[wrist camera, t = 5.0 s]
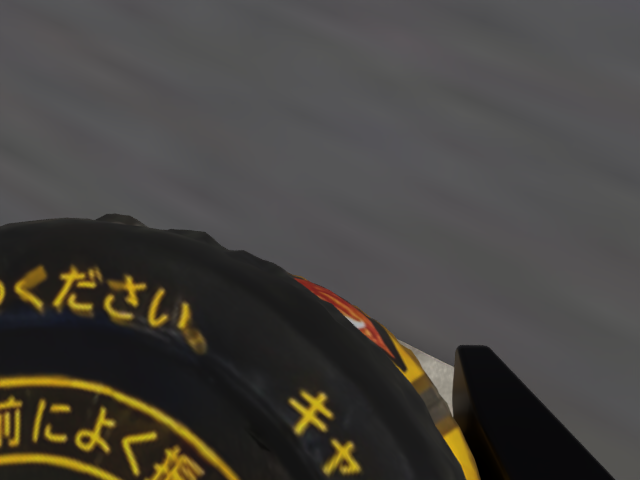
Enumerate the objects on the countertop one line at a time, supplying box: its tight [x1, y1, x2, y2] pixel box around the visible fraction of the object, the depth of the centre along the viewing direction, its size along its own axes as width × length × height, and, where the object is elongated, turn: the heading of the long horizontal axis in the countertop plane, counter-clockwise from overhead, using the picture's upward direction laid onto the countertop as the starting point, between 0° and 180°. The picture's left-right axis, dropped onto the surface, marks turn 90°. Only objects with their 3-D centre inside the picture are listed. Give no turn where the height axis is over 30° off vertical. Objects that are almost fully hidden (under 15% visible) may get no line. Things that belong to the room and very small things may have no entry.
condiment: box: [0, 214, 481, 480], centre depth 9 cm, size 7×8×12 cm
